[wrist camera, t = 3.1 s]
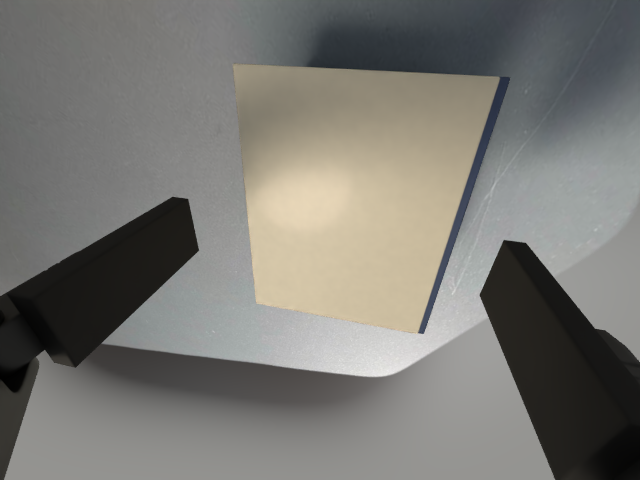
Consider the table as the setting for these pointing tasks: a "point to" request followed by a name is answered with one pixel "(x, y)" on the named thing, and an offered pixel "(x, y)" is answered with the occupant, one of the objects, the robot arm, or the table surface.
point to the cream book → (359, 184)
